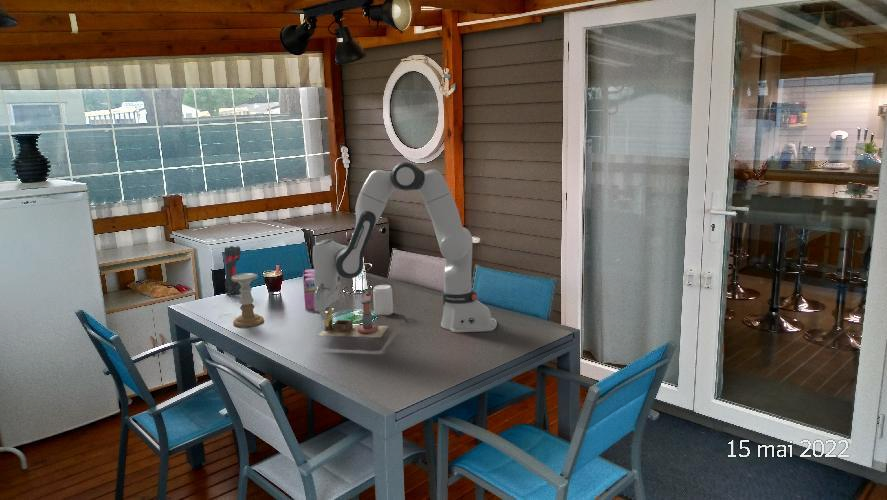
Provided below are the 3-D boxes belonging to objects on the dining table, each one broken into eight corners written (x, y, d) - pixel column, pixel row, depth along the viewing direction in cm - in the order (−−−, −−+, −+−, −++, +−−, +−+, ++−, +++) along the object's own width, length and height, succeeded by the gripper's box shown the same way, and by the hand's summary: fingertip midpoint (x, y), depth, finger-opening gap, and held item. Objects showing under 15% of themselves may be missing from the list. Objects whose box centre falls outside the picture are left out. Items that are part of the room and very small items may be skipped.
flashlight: (248, 292, 315) (243, 246, 310) (235, 296, 309) (230, 249, 304) (237, 290, 319) (232, 245, 314) (224, 294, 313) (219, 248, 308)
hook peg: (332, 327, 255) (331, 310, 254) (333, 329, 252) (332, 312, 251) (324, 327, 255) (323, 310, 253) (325, 330, 251) (323, 313, 250)
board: (389, 328, 256) (388, 325, 255) (380, 340, 243) (380, 336, 243) (328, 327, 260) (328, 323, 259) (317, 338, 247) (317, 334, 247)
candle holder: (269, 322, 269) (265, 275, 264) (243, 329, 260) (238, 281, 256) (254, 316, 277) (249, 270, 273) (227, 323, 268) (222, 276, 264)
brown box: (352, 327, 255) (352, 320, 254) (348, 332, 249) (347, 325, 248) (338, 327, 256) (337, 320, 255) (333, 332, 250) (332, 324, 249)
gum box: (304, 295, 307) (302, 268, 304) (321, 294, 308) (319, 266, 305) (305, 310, 284) (302, 280, 281) (323, 308, 285) (321, 279, 283)
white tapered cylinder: (390, 317, 271) (388, 289, 268) (371, 316, 272) (370, 289, 270) (395, 311, 278) (394, 284, 276) (377, 310, 280) (376, 284, 277)
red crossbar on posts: (377, 332, 247) (375, 303, 245) (356, 333, 247) (354, 304, 244) (379, 320, 262) (378, 292, 259) (359, 321, 262) (358, 293, 259)
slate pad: (336, 327, 255) (336, 327, 255) (332, 331, 251) (332, 330, 251) (325, 327, 256) (325, 326, 256) (321, 331, 252) (321, 330, 251)
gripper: (324, 288, 239) (327, 324, 242) (341, 274, 258) (343, 307, 261) (308, 288, 240) (311, 323, 243) (326, 274, 259) (328, 307, 262)
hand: (328, 315), depth 252 cm, fingers open, 8 cm apart
